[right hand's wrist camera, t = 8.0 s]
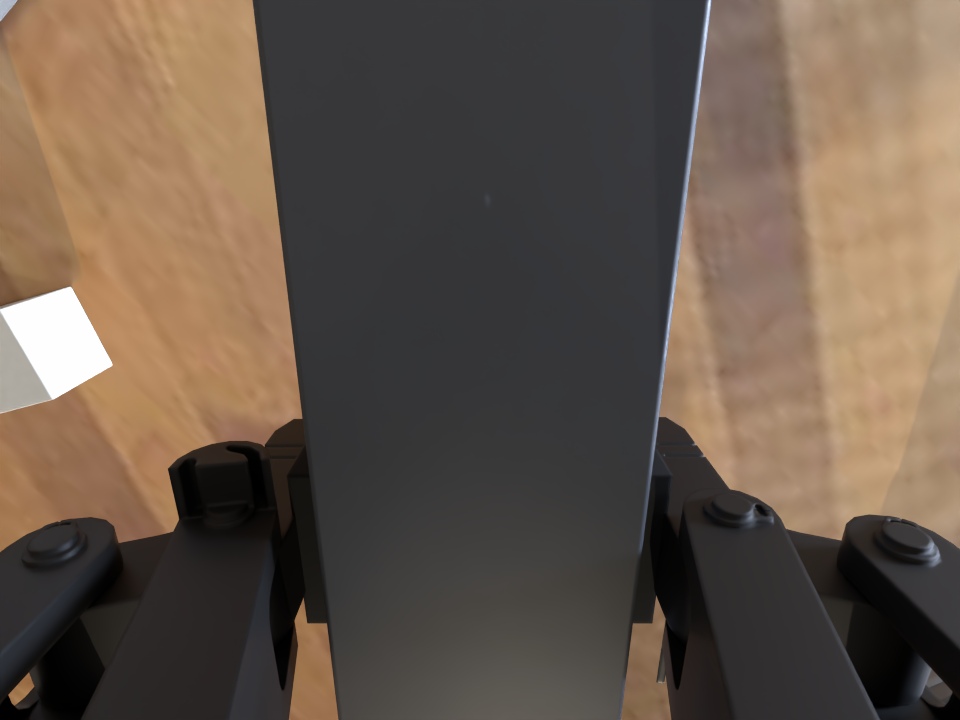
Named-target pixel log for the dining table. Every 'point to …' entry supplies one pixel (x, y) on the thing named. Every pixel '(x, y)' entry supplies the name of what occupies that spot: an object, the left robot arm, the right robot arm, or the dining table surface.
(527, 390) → the bar
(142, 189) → the dining table surface
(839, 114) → the dining table surface
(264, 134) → the dining table surface
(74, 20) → the dining table surface
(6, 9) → the hard drive box
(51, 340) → the cube
